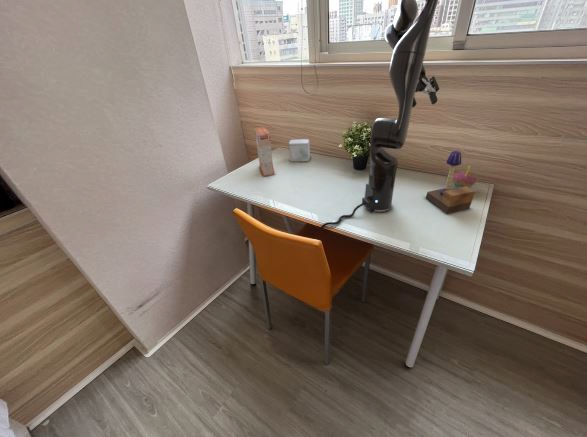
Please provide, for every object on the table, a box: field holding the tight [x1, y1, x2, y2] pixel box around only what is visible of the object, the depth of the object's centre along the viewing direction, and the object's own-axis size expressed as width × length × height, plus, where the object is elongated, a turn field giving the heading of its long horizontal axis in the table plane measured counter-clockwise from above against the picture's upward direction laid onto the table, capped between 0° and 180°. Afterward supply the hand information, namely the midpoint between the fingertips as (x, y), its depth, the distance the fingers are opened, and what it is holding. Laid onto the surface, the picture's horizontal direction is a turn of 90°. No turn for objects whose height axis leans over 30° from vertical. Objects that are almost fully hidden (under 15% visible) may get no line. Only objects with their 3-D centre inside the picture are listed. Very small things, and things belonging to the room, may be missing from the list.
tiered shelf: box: [425, 186, 476, 215], centre depth 102 cm, size 10×12×8 cm
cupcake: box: [451, 164, 477, 189], centre depth 108 cm, size 9×8×12 cm
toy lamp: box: [440, 150, 462, 195], centre depth 99 cm, size 5×5×17 cm
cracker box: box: [253, 126, 275, 177], centre depth 137 cm, size 14×6×21 cm, turn 13°
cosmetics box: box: [288, 138, 311, 162], centre depth 148 cm, size 10×6×10 cm, turn 80°
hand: (424, 104), depth 101 cm, fingers open, 8 cm apart
